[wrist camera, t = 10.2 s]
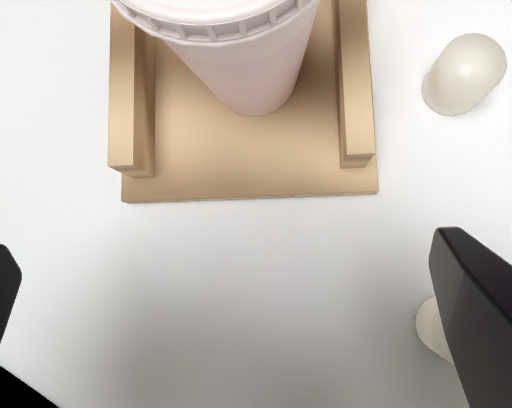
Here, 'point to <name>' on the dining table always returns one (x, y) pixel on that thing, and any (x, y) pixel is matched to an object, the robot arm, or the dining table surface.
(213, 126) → the tray
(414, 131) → the dining table surface
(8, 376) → the dollhouse room
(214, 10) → the smoothie
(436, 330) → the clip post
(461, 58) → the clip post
